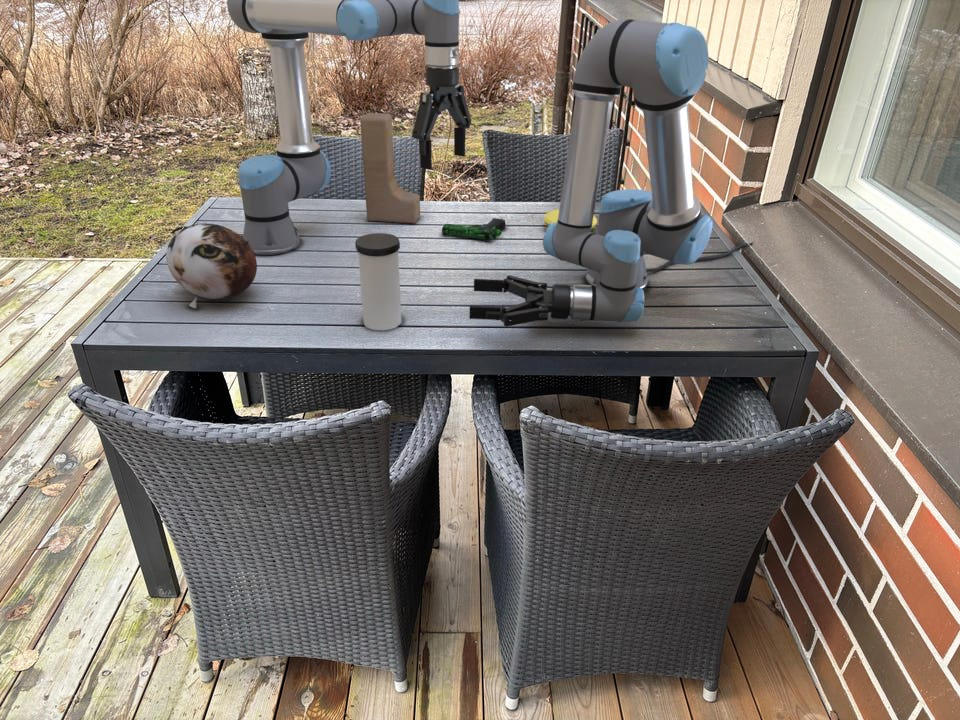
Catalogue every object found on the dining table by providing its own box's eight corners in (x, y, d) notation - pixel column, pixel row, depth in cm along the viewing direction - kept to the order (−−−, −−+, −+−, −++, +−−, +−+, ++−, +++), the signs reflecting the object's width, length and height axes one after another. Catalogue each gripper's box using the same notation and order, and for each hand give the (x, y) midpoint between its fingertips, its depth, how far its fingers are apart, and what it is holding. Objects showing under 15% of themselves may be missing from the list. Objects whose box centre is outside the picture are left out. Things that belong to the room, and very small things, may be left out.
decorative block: (415, 224, 212) (412, 120, 197) (366, 221, 214) (359, 117, 199) (420, 215, 219) (417, 114, 203) (373, 212, 220) (366, 112, 205)
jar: (360, 315, 162) (354, 237, 152) (397, 311, 164) (393, 233, 154) (367, 332, 155) (360, 252, 145) (405, 327, 157) (401, 248, 147)
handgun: (511, 219, 210) (493, 234, 198) (511, 228, 211) (492, 244, 199) (461, 212, 215) (440, 226, 203) (461, 221, 217) (440, 236, 204)
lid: (352, 242, 153) (352, 235, 152) (395, 238, 155) (394, 231, 155) (359, 258, 145) (359, 251, 145) (404, 253, 148) (403, 246, 147)
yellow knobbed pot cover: (559, 216, 220) (561, 193, 217) (605, 227, 212) (608, 204, 209) (532, 230, 209) (533, 207, 206) (580, 242, 201) (582, 218, 198)
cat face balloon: (130, 285, 161) (164, 203, 163) (192, 308, 177) (221, 233, 178) (195, 307, 151) (229, 220, 152) (254, 330, 166) (285, 250, 168)
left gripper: (421, 75, 148) (424, 176, 159) (486, 61, 166) (485, 153, 177) (393, 71, 151) (397, 171, 162) (460, 58, 169) (460, 148, 180)
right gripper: (571, 345, 145) (467, 341, 146) (566, 293, 167) (475, 289, 168) (574, 312, 141) (467, 308, 142) (568, 263, 163) (475, 259, 164)
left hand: (443, 161), depth 169 cm, fingers open, 13 cm apart
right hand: (471, 298), depth 155 cm, fingers open, 13 cm apart
